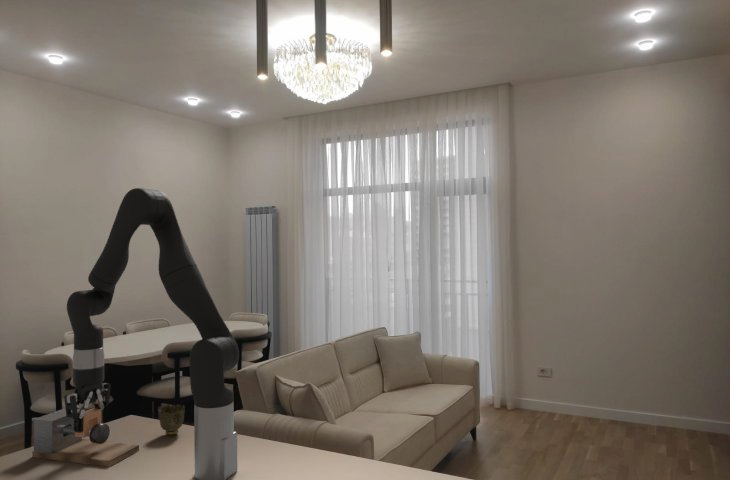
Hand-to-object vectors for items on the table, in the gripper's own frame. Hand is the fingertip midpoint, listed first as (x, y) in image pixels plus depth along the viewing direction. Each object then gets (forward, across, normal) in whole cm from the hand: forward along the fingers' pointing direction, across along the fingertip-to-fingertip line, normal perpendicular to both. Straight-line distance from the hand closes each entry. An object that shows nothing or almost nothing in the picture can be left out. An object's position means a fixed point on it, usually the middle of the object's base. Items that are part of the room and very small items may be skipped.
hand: (88, 427), depth 143 cm
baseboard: (+7, 0, +1) cm, 7 cm away
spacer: (+1, 0, 0) cm, 1 cm away
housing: (+6, 0, +10) cm, 11 cm away
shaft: (+4, 0, +1) cm, 4 cm away
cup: (+7, +19, -12) cm, 24 cm away
